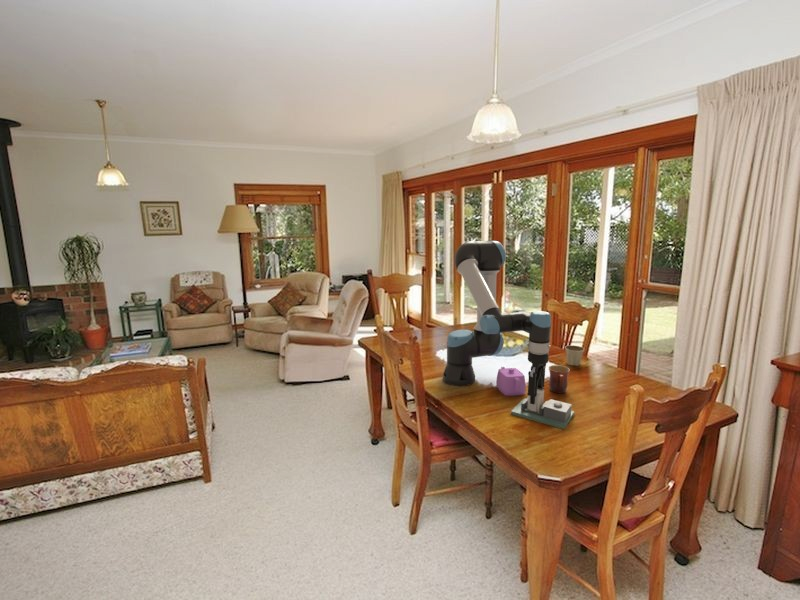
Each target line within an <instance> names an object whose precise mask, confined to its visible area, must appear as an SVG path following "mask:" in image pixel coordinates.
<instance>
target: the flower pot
mask: <svg viewBox="0 0 800 600" xmlns="http://www.w3.org/2000/svg"><path fill="white" fill-rule="evenodd" d="M564 349H565V353H566V363H567V365H570V366H575V367H578V366H580V365H581V362H582V361H581V360H582V357H583V353H584V351H585V348H584V347H582V346H580V345H579V346H578V345H572V344H571V345H570V344H569V345H565V346H564Z"/></svg>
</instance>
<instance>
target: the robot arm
mask: <svg viewBox="0 0 800 600" xmlns="http://www.w3.org/2000/svg"><path fill="white" fill-rule="evenodd" d="M506 256H507V255H506V249H505V247H504V246H503V244H502V243H501V242H500V241H497V240H478V241H476V240H475V241H472V240H470V241H466V242H464V243H462V244H460V245H459V247H458V248H457V250H456V251H455V254H454V266H455V269H456V271H457V273H458V274H459V275H461V276H462V278H463V281H464V283H465V285H466V286H467V288H468V291H469V292H470V294H471V296H472V298H473V301H474V303H475V305H476V324H475V326H473V331H472V330H470V329H466V328H465V329H456V330H453V331H451V332H450V333H449V334H448V335H447V340H446V366H445V367H444V371H443V374H442V381H443V382H444V383H446V384H449V385H451V386H456V387H457V386H459V387H466V386H470V385H472V384H474V383H475V382H476V374H475V371H474V367H473V358H479V357H487V356H488V357H490V356H495V355H497V354H500V353H501V352H502V350H503V348H504V343H505V342H504V337H503V334H504V333H513V332H526V333H527V334H528V347H527V350H528V352H527V360H528V362H529V363H531V366H530V370H529V371H528V374H527V375H528V382H527V383H528V385H527V393H526V394H527V396H528V395H529V396H530V399H529V410H531V411H535V412H536V410H537V388H542V389H544V390H546V389H545V380H546V378H545V377H546V367H547V363H549V359H550V358H549V356H550V354H549V351H550V348H551V344H550V340H551V329H552V328H551V326H552V315H551V313H550V312H547V311H544V310H533V311H531V312H528V311H526V310H522V309H515V310H513V311H511V312H505V313H503V312H502V311H501V309H500V306H499V305H498V303H497V274H498V273H499V272H500V271H501V266H503V265H504V264H505V262H506V258H507V257H506Z"/></svg>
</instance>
